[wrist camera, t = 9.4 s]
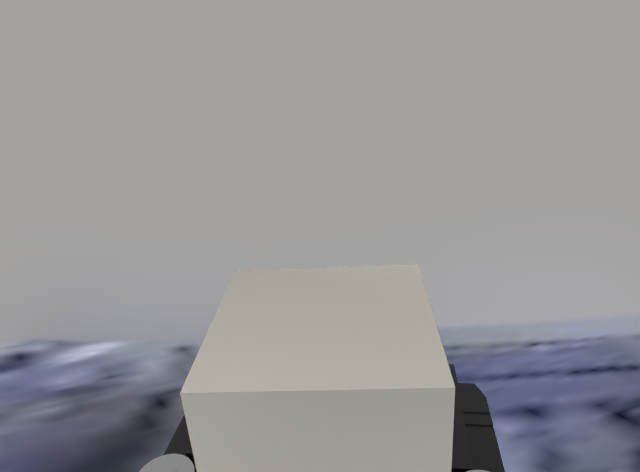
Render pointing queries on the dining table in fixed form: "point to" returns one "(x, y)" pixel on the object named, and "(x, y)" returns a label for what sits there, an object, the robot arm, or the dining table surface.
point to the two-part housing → (322, 375)
